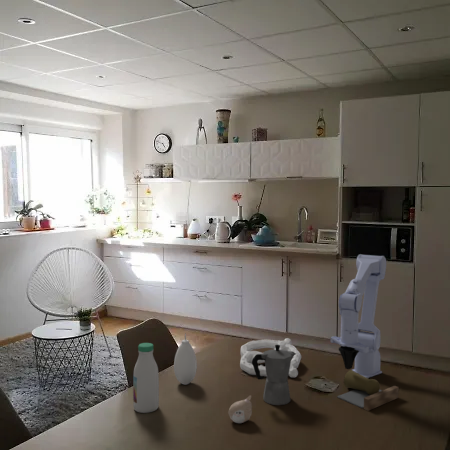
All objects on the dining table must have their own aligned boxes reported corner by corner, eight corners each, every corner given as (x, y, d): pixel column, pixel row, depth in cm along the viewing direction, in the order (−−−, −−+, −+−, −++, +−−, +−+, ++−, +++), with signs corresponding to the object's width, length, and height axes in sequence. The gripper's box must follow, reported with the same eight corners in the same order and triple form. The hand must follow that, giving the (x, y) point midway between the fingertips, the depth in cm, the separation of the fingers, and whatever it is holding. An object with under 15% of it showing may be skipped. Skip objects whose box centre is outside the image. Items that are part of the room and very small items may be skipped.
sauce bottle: (170, 386, 165) (170, 334, 164) (180, 377, 172) (180, 328, 171) (190, 389, 162) (190, 337, 161) (200, 381, 169) (200, 331, 168)
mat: (367, 385, 166) (367, 384, 166) (392, 395, 158) (392, 394, 158) (337, 397, 157) (337, 396, 157) (362, 408, 149) (362, 407, 149)
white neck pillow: (305, 383, 172) (305, 366, 171) (240, 384, 173) (239, 367, 172) (297, 348, 199) (297, 333, 198) (241, 349, 201) (240, 334, 199)
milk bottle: (162, 404, 150) (162, 342, 149) (151, 415, 143) (151, 349, 142) (141, 401, 153) (140, 339, 152) (128, 411, 146) (128, 347, 144)
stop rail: (393, 396, 158) (394, 385, 158) (398, 397, 157) (398, 387, 156) (363, 408, 148) (363, 397, 148) (368, 410, 147) (368, 399, 147)
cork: (355, 383, 167) (383, 393, 158) (344, 390, 163) (372, 401, 155) (354, 367, 166) (382, 376, 158) (343, 373, 163) (371, 383, 154)
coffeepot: (288, 390, 162) (288, 338, 160) (302, 402, 153) (302, 347, 152) (246, 397, 156) (246, 343, 155) (257, 409, 147) (258, 352, 146)
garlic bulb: (243, 429, 135) (244, 401, 135) (224, 423, 139) (224, 396, 138) (255, 419, 141) (255, 393, 140) (236, 414, 144) (236, 388, 144)
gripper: (325, 326, 165) (324, 364, 166) (359, 336, 153) (358, 377, 154) (338, 322, 169) (337, 360, 170) (373, 332, 158) (372, 372, 159)
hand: (348, 368), depth 162 cm, fingers closed
